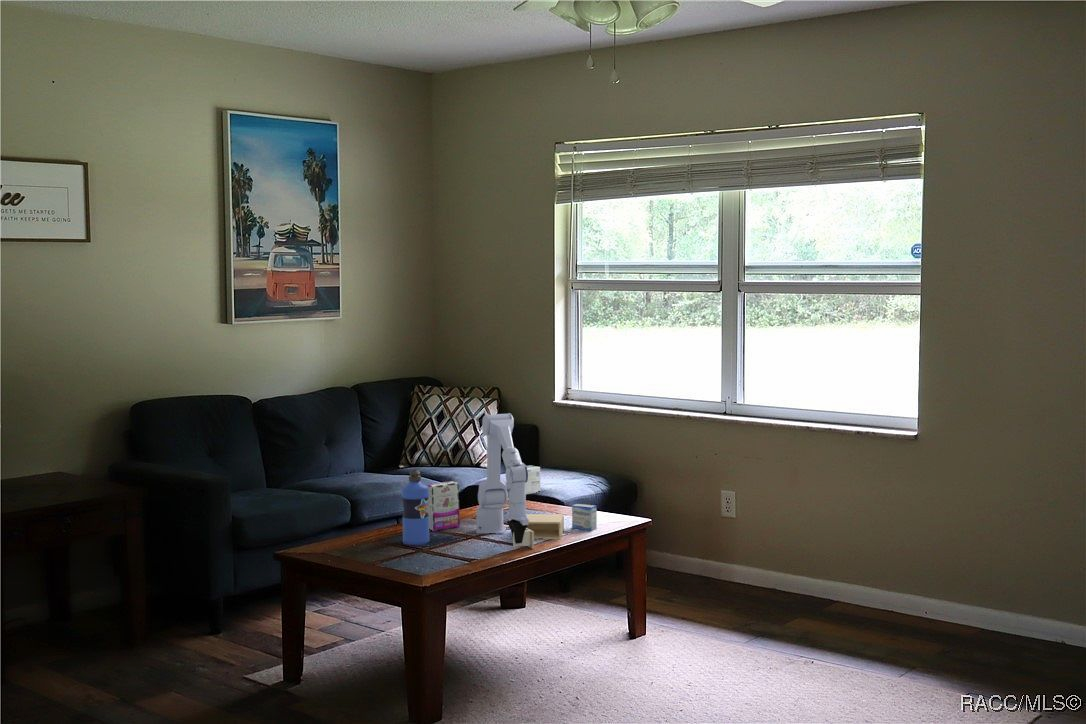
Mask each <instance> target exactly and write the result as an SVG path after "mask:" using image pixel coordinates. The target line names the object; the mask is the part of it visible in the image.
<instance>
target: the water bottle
mask: <svg viewBox="0 0 1086 724" xmlns="http://www.w3.org/2000/svg"><path fill="white" fill-rule="evenodd" d="M408 474H409V476H408V483H407V484H405V485H403V486H401V491H400V492H401V493H400V494H401V500H402V507H403V510H402V543H403V544H404V545H407V546H420V545H421V546H422V545H425V544H426V543H427V544H429V543H430V530H429V514H428V508H427V507H428V496H429V486H427V485H428V484H424V483H423V482H422V476H421V472H420V471H419V470H418V469H416V468H415V469H411V471H409V472H408ZM428 542H429V543H428Z"/></svg>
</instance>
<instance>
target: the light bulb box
mask: <svg viewBox="0 0 1086 724" xmlns="http://www.w3.org/2000/svg"><path fill="white" fill-rule="evenodd" d="M526 467H527V470H528V481H527V482H525V483H526V495H531V494H535V493H536V492H537V493H539V492H538V491H541V466H535V465H526ZM537 493H536V494H537Z"/></svg>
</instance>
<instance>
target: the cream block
mask: <svg viewBox="0 0 1086 724" xmlns="http://www.w3.org/2000/svg"><path fill="white" fill-rule="evenodd" d="M526 546H527V547H528V548H529V549H532V550H533V549H535V539H534V531H532V530H530V529H528V528H526V530H525V532H524V536H523V541H522V543H518V544H516V543H515V538H514V532H513V538H512V547H514V548H517V547H519V548H520V547H526Z"/></svg>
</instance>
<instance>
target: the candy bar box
mask: <svg viewBox="0 0 1086 724" xmlns="http://www.w3.org/2000/svg"><path fill="white" fill-rule="evenodd" d="M426 485H427V486H429V496H428V507H427V508H428V514H429V529H430V530H429V531H431V530H432V532H438V530H440V531H445V530H448V529H449V530H450V528H451V529H455V528H456V529H457V528H460V526H461V525H460V519H461V518H460V500H459V499H460V494H459V493H460V491H459V482H456V481H453V480H451V481H443V482H437V483H430V484H426ZM444 529H445V530H444Z"/></svg>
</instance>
